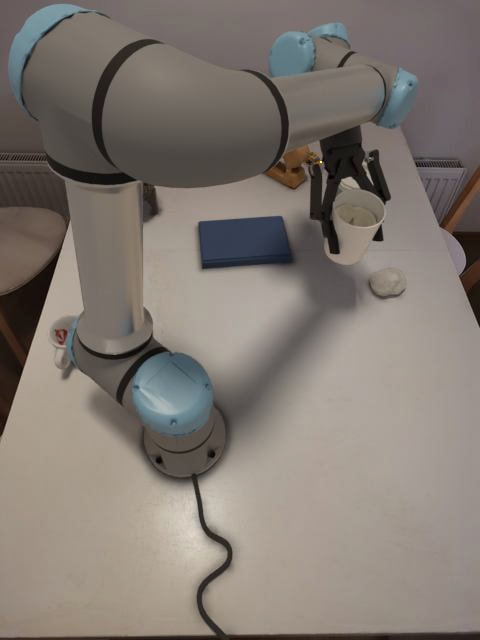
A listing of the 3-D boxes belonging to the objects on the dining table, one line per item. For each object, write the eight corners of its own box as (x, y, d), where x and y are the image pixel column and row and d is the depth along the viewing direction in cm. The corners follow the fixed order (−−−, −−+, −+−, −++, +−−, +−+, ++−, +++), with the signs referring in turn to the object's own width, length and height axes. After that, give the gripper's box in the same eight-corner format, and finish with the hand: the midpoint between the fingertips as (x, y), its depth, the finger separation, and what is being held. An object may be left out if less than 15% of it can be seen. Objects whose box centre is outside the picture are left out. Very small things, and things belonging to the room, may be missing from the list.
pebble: (377, 268, 106) (383, 254, 102) (408, 283, 103) (415, 269, 99) (361, 290, 102) (367, 277, 98) (393, 307, 99) (400, 294, 95)
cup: (84, 381, 88) (72, 363, 81) (48, 374, 88) (33, 355, 82) (104, 337, 93) (94, 316, 87) (69, 330, 94) (57, 310, 88)
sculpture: (261, 155, 129) (264, 106, 117) (307, 179, 124) (315, 131, 111) (247, 165, 127) (249, 116, 114) (294, 190, 121) (301, 142, 108)
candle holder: (321, 228, 92) (333, 185, 82) (366, 234, 92) (385, 192, 81) (318, 264, 87) (332, 224, 77) (367, 271, 87) (387, 231, 76)
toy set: (359, 163, 128) (363, 149, 124) (335, 181, 123) (338, 166, 119) (327, 145, 132) (330, 131, 128) (303, 161, 128) (305, 147, 124)
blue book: (291, 261, 106) (292, 255, 104) (202, 268, 105) (201, 262, 103) (281, 221, 114) (282, 215, 112) (198, 227, 112) (198, 221, 110)
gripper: (377, 118, 84) (392, 232, 90) (276, 141, 79) (299, 260, 85) (402, 109, 77) (416, 233, 83) (292, 133, 72) (316, 263, 78)
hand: (356, 247), depth 84 cm, fingers closed on candle holder, 9 cm apart
